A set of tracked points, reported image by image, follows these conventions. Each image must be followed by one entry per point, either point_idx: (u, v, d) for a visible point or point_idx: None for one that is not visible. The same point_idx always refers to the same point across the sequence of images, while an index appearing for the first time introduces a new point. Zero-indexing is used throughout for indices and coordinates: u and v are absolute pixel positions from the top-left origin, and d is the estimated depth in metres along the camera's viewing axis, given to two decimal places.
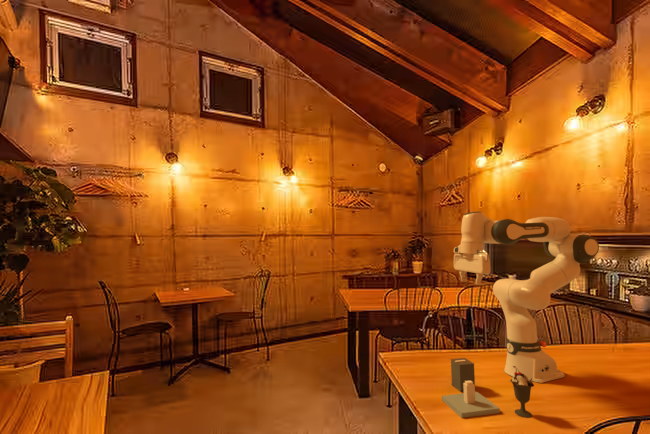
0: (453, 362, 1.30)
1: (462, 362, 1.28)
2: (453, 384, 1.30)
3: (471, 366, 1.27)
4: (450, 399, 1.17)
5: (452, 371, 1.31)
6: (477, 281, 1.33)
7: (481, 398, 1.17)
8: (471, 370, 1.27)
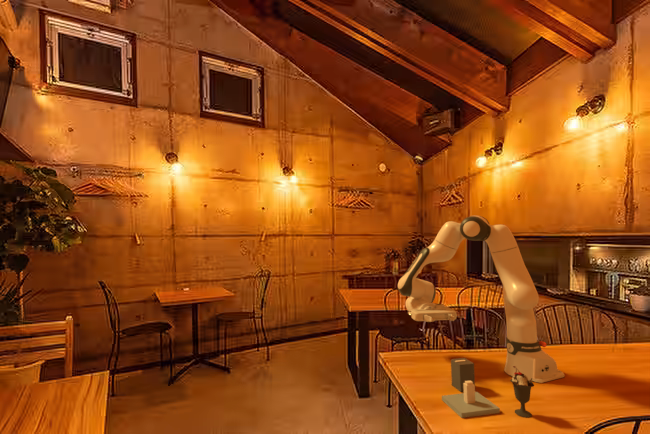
0: (453, 362, 1.30)
1: (462, 362, 1.28)
2: (453, 384, 1.30)
3: (471, 366, 1.27)
4: (450, 399, 1.17)
5: (452, 371, 1.31)
6: (429, 320, 1.43)
7: (481, 398, 1.17)
8: (471, 370, 1.27)
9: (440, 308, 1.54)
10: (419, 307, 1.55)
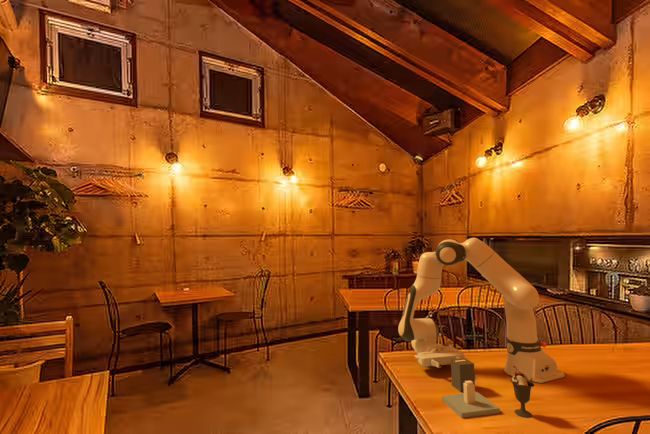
0: (453, 362, 1.30)
1: (462, 362, 1.28)
2: (453, 384, 1.30)
3: (471, 366, 1.27)
4: (450, 399, 1.17)
5: (452, 371, 1.31)
6: (436, 366, 1.38)
7: (481, 398, 1.17)
8: (471, 370, 1.27)
9: (447, 350, 1.49)
10: (425, 349, 1.50)
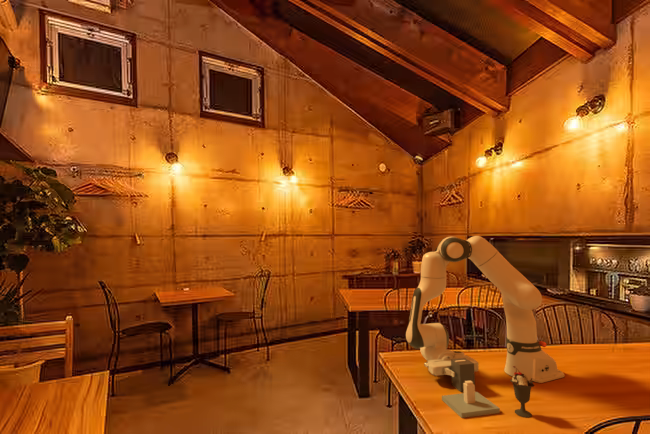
0: (453, 362, 1.30)
1: (462, 362, 1.28)
2: (453, 384, 1.30)
3: (471, 366, 1.27)
4: (450, 399, 1.17)
5: None
6: (451, 375, 1.29)
7: (481, 398, 1.17)
8: (471, 370, 1.27)
9: (459, 357, 1.40)
10: (436, 356, 1.41)
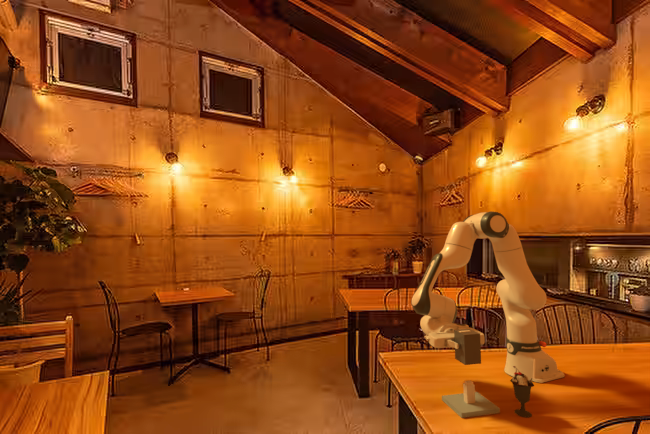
0: (457, 333, 1.17)
1: (467, 332, 1.15)
2: (456, 358, 1.17)
3: (477, 336, 1.14)
4: (450, 399, 1.17)
5: None
6: (455, 347, 1.16)
7: (481, 398, 1.17)
8: (477, 341, 1.14)
9: None
10: (438, 329, 1.28)
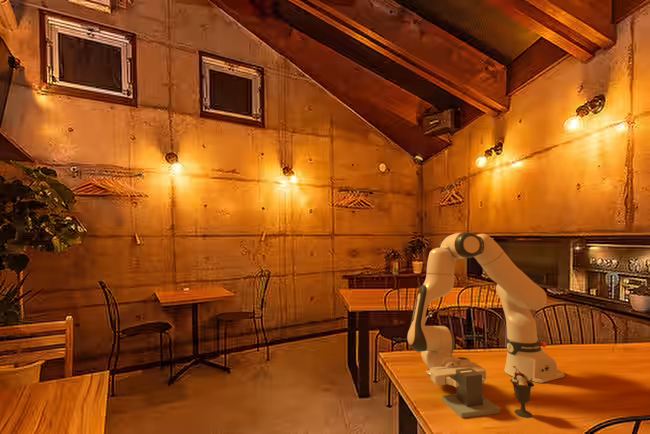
0: (458, 373, 1.16)
1: (468, 373, 1.14)
2: (458, 398, 1.17)
3: (479, 378, 1.13)
4: (450, 399, 1.17)
5: None
6: (453, 385, 1.15)
7: None
8: (479, 382, 1.13)
9: (465, 364, 1.26)
10: (439, 363, 1.27)
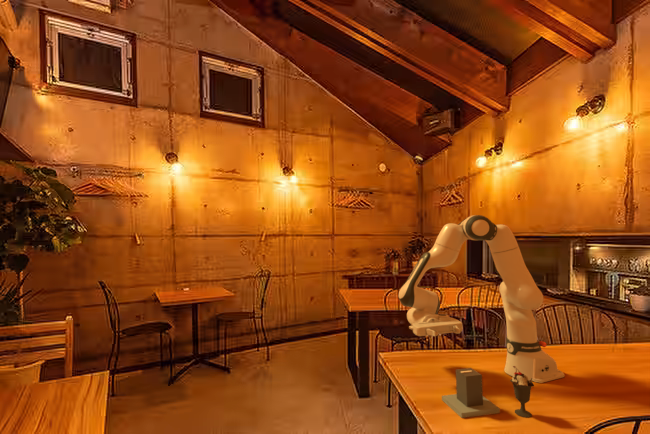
0: (458, 373, 1.16)
1: (468, 373, 1.14)
2: (458, 398, 1.17)
3: (479, 378, 1.13)
4: (450, 399, 1.17)
5: (457, 383, 1.17)
6: (432, 334, 1.30)
7: None
8: (479, 382, 1.13)
9: (444, 319, 1.41)
10: (421, 320, 1.42)
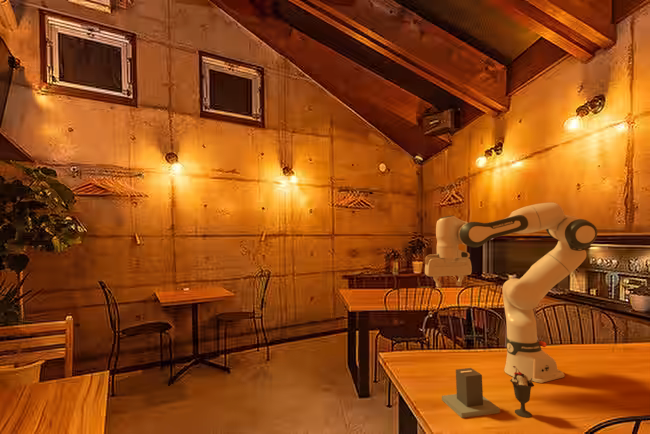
0: (458, 373, 1.16)
1: (468, 373, 1.14)
2: (458, 398, 1.17)
3: (479, 378, 1.13)
4: (450, 399, 1.17)
5: (457, 383, 1.17)
6: (436, 283, 1.42)
7: None
8: (479, 382, 1.13)
9: (461, 261, 1.42)
10: (441, 255, 1.40)
